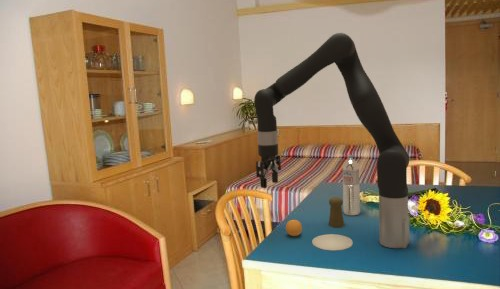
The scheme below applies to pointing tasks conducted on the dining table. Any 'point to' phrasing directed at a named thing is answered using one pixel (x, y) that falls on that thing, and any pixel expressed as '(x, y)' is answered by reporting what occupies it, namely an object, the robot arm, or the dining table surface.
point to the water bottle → (351, 187)
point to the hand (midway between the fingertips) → (269, 185)
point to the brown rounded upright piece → (336, 212)
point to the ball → (293, 227)
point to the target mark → (332, 242)
